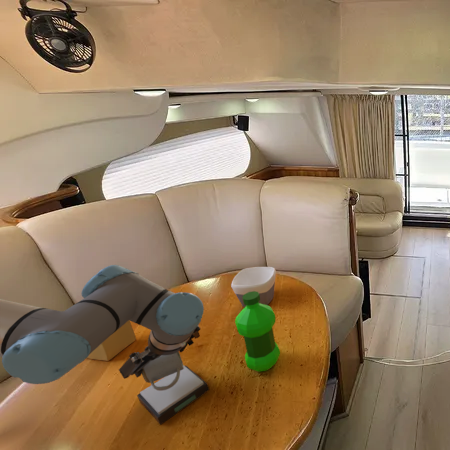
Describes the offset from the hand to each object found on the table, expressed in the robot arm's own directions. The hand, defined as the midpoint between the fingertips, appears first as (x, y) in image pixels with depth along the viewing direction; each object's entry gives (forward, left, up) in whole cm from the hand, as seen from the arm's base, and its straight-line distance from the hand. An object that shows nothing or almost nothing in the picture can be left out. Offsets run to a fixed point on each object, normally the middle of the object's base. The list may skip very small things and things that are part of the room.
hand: (158, 359), depth 83 cm
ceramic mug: (0, -3, -4) cm, 5 cm away
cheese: (-3, +34, -11) cm, 36 cm away
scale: (0, -3, -11) cm, 12 cm away
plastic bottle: (+20, -14, -11) cm, 27 cm away
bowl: (+40, +18, -11) cm, 45 cm away
